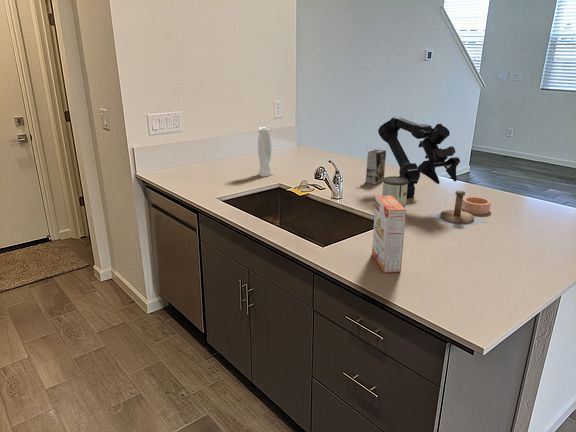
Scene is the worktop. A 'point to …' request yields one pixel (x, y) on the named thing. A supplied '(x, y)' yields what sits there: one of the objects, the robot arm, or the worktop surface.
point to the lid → (457, 212)
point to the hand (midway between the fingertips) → (447, 182)
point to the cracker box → (388, 233)
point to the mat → (476, 221)
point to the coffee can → (396, 188)
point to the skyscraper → (264, 151)
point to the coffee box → (375, 166)
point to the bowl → (476, 205)
